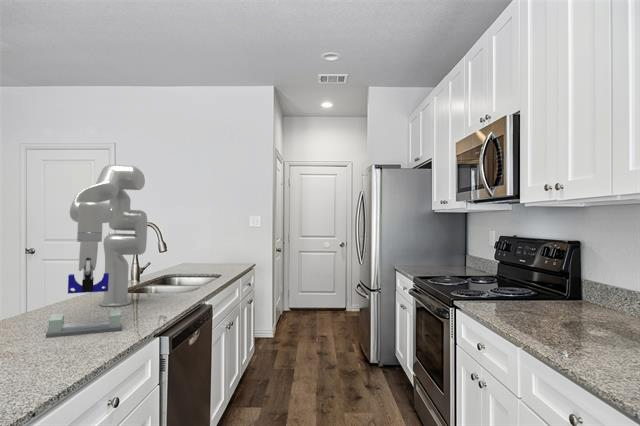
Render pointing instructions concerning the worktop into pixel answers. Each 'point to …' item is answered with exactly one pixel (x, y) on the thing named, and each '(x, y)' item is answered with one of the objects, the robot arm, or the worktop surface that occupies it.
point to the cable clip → (96, 288)
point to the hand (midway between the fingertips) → (87, 289)
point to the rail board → (83, 325)
